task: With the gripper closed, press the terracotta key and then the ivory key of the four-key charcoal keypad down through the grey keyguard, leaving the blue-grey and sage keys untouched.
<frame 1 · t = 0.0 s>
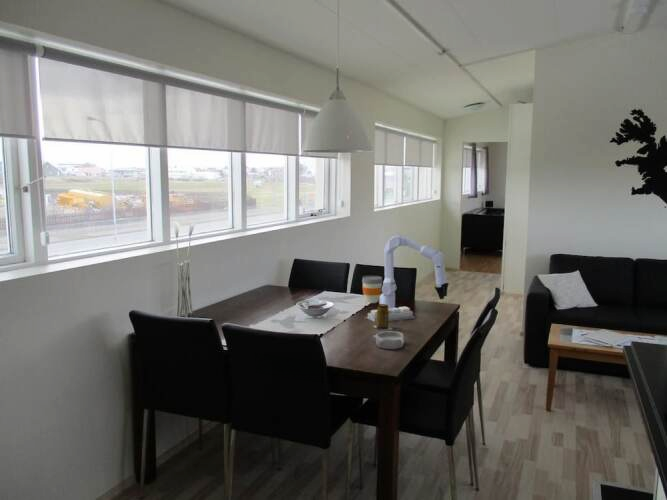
hand: (443, 297, 305), 11 cm above the table, tool pointing down, fingers open, 7 cm apart
reusable coffee cup: (371, 301, 338), on the table
dish: (389, 345, 254), on the table
keypad: (390, 317, 301), on the table
sage key: (376, 313, 296), point 3 cm above the table, slide at 0.0 cm
bluegrey key: (395, 311, 301), point 3 cm above the table, slide at 0.0 cm
ivory key: (404, 310, 304), point 3 cm above the table, slide at 0.0 cm
terracotta key: (385, 312, 299), point 3 cm above the table, slide at 0.0 cm
condiment: (382, 328, 281), on the table
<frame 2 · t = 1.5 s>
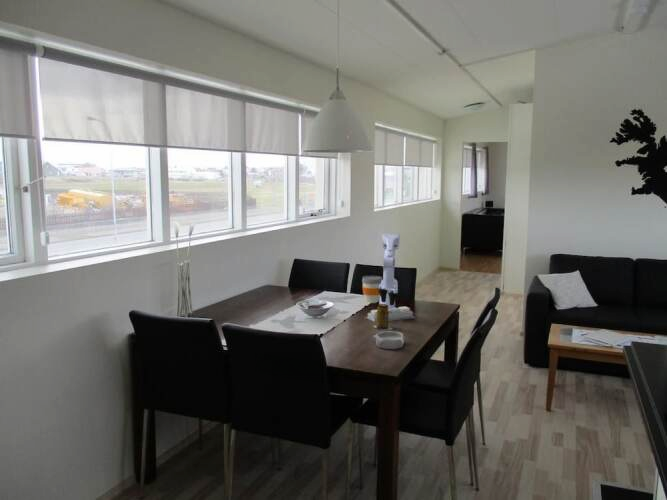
hand: (387, 303, 298), 8 cm above the table, tool pointing down, fingers open, 7 cm apart
nothing on the table moved.
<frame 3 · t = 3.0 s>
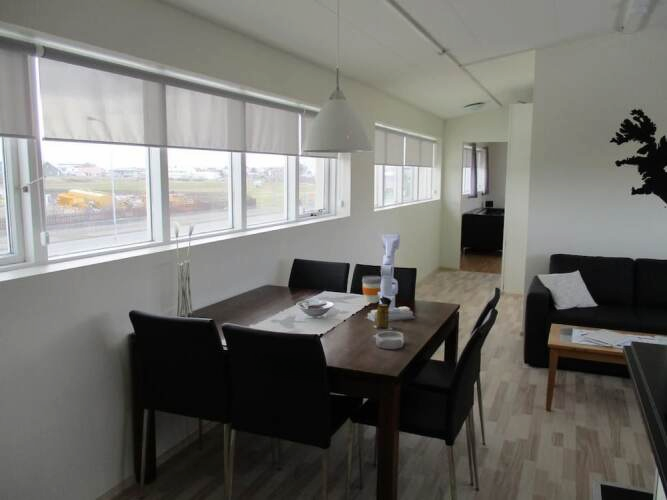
hand: (385, 310, 299), 4 cm above the table, tool pointing down, fingers closed, pressing on terracotta key
terracotta key: (385, 313, 299), point 3 cm above the table, slide at 0.6 cm, touching gripper
everything else where it was.
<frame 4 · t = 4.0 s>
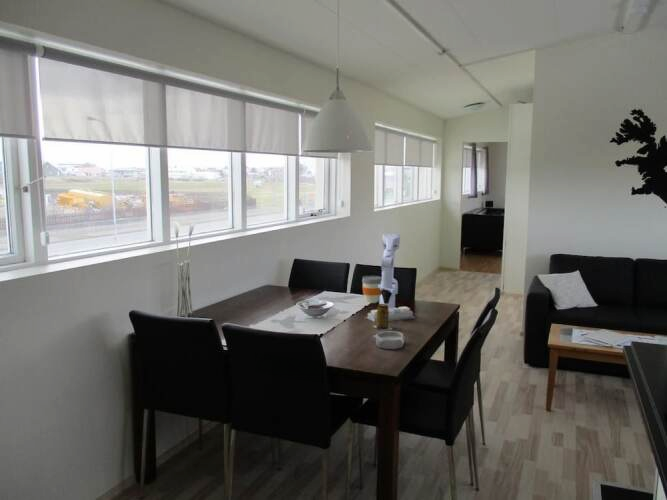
hand: (386, 303, 298), 8 cm above the table, tool pointing down, fingers closed
terracotta key: (385, 314, 299), point 2 cm above the table, slide at 1.1 cm
everything else where it was.
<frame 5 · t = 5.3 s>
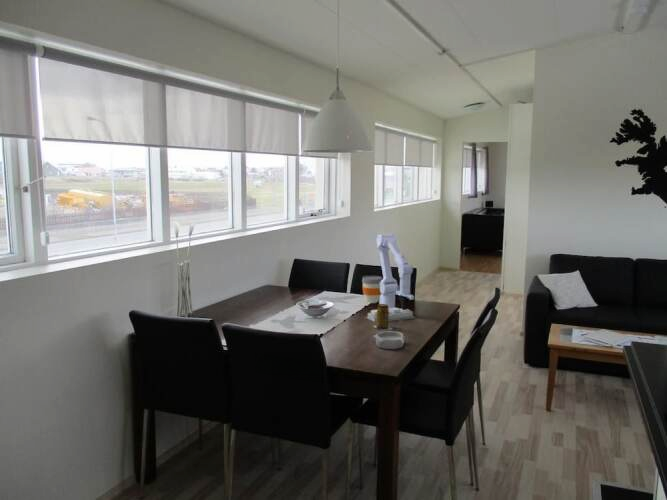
hand: (404, 309, 304), 4 cm above the table, tool pointing down, fingers closed, pressing on ivory key
ivory key: (404, 312, 304), point 2 cm above the table, slide at 1.0 cm, touching gripper
everything else where it was.
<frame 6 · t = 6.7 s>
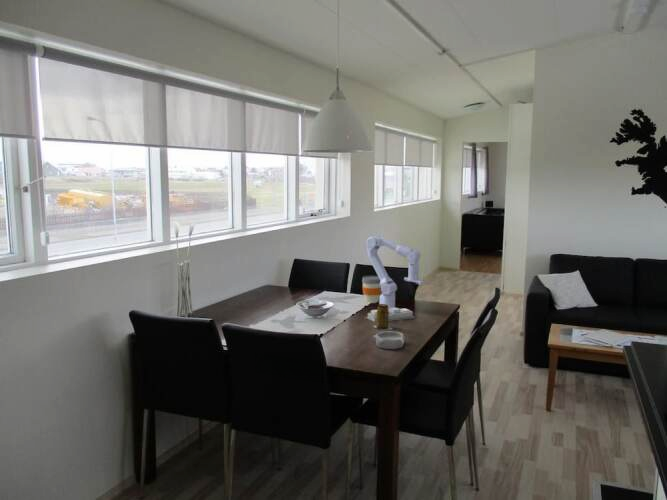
hand: (413, 295, 310), 10 cm above the table, tool pointing down, fingers closed
ivory key: (404, 312, 304), point 2 cm above the table, slide at 1.1 cm
everything else where it was.
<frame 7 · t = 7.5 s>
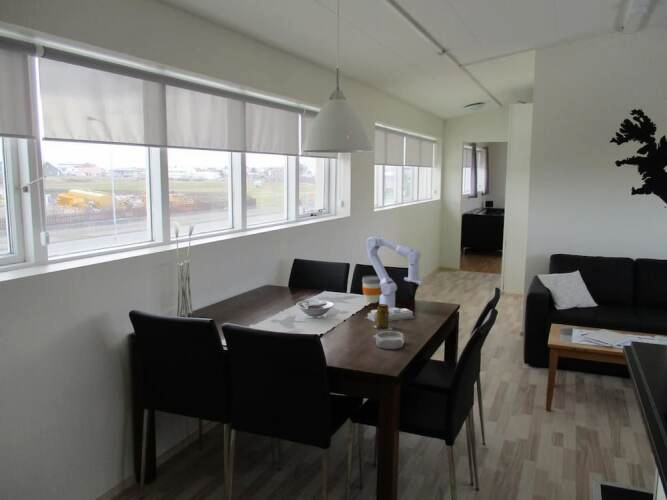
hand: (413, 295, 310), 10 cm above the table, tool pointing down, fingers closed
nothing on the table moved.
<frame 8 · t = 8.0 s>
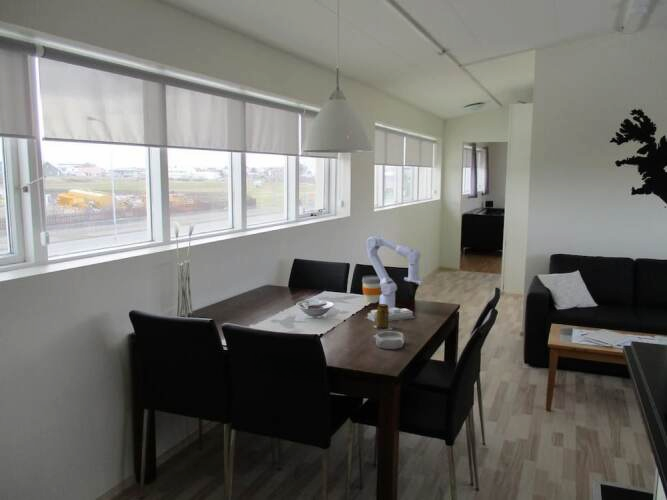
hand: (413, 295, 310), 10 cm above the table, tool pointing down, fingers closed
nothing on the table moved.
at the end: terracotta key slide at 1.1 cm; ivory key slide at 1.1 cm; bluegrey key slide at 0.0 cm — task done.
